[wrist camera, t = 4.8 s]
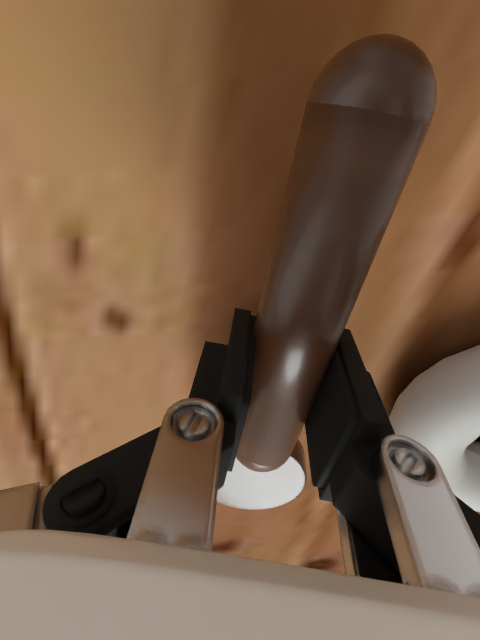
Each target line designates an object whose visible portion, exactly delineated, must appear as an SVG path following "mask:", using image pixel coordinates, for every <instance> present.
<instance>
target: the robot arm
mask: <svg viewBox="0 0 480 640" xmlns="http://www.w3.org/2000/svg"><path fill="white" fill-rule="evenodd" d="M255 321H256V316H252V315H251V311H249V310H243V309H238V308H235V313H234V318H233V323H232V329H231V334H230V339H229V344H228V345H224V344H219V343H213V342H208V341H206V342H205V345H204V348H203V351H202V355H201V358H200V361H199V365H198V368H197V372H196V375H195V378H194V382H193V385H192V388H191V392H190V395H189V398H187V399H182V400H180V401H178V402H176V403H174V404H173V405H172V406H171V407H169V408H168V410H167V412H166V414H165V415H164V418H163V421H162V425H161V426H160V427H158V428H156V429H154V430H152V431H150V432H148V433H146V434H144V435H142V436H140V437H138V438H136V439H134V440H132V441H130V442H128V443H126V444H124V445H122V446H120V447H118V448H116V449H114V450H112V451H110V452H108V453H105V454H103V455H101V456H99V457H97V458H95V459H93V460H91V461H89V462H87V463H85V464H83V465H81V466H79V467H77V468H75V469H73V470H71V471H70V472H68V473H67V474H65V475H63V476H62V477H61V478H60V479H59V480H58V481H57V482H56V483H54V484H50V485H45V486H40V484H39V482H37V483H32V484H28V485H23V486H18V487H13V488H9V489H4V490H0V640H480V515H479V514H478V513H477V512H476V511H474V510H473V509H472V508H471V507H469V506H468V505H467V504H465V503H464V502H463V501H462V500H460V499H459V498H458V497H457V496H455V495H454V493H453V491H452V489H451V487H450V485H449V483H448V481H447V479H446V476H445V474H444V472H443V470H442V468H441V466H440V464H439V463H438V461H437V459H436V458H435V456H434V455H433V454H432V453H431V452H430V451H429V450H428V449H427V448H426V447H424V446H423V445H422V444H420V443H419V442H417V441H415V440H413V439H412V438H409V437H406V436H403V435H396V434H395V432H394V430H393V427H392V425H391V422H390V420H389V418H388V415H387V413H386V410H385V408H384V406H383V403H382V401H381V398H380V396H379V393H378V391H377V389H376V386H375V384H374V381H373V379H372V377H371V375H370V373H369V372H367V371H366V369H365V366H364V364H363V361H362V359H361V356H360V354H359V351H358V349H357V346H356V344H355V341H354V339H353V336H352V334H351V331H350V330H349V329H344V331H343V333H342V335H341V338H340V340H339V343H338V345H337V347H336V350H335V352H334V354H333V357H332V359H331V362H330V364H329V366H328V369H327V371H326V373H325V376H324V378H323V381H322V383H321V385H320V388H319V390H318V392H317V395H316V397H315V400H314V402H313V404H312V407H311V409H310V411H309V414H308V416H307V419H306V421H305V428H306V436H307V445H308V453H309V461H310V469H311V477H312V483H313V486H315V487H318V491H319V498H320V500H326V501H331V502H333V505H334V506H335V507H336V508H337V509H338V526H339V533H340V540H341V547H342V554H343V562H344V569H345V574H341V573H335V572H329V571H323V570H317V569H312V568H306V567H300V566H294V565H288V564H282V563H276V562H270V561H264V560H258V559H252V558H246V557H239V556H233V555H227V554H221V553H215V552H212V542H213V532H214V522H215V512H216V502H217V491H218V489H220V488H221V487H223V486H224V483H225V479H226V475H227V471H230V472H232V469H233V466H234V462H235V458H236V454H237V451H238V447H239V443H240V440H241V436H242V432H243V428H244V425H245V421H246V417H247V414H248V410H249V406H250V401H251V394H252V382H253V366H254V350H255V337H254V333H253V330H254V325H255Z"/></svg>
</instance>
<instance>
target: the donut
mask: <svg viewBox="0 0 480 640" xmlns="http://www.w3.org/2000/svg"><path fill="white" fill-rule="evenodd" d="M389 420H390V422H391V425H392V427H393V430H394V432H395V434H396V435H403V436H406V437H409V438H412V439H413V440H415V441H417V442H419V443H420V444H422V445H423V446H424V447H426V448H427V449H428V450H429V451H430V452H431V453H432V454H433V455H434V456H435V458H436V459H437V461H438V463H439V464H440V466H441V468H442V470H443V472H444V474H445V476H446V479H447V481H448V483H449V485H450V487H451V489H452V491H453V493H454V495H455V496H457V497H458V498H459V499H460V500H462V501H463V502H464V503H465V504H467V505H468V506H469V507H471V508H472V509H473V510H474V511H479V512H480V441H478V442H473V441H474V440H475V439H477V438H478V437H479V436H480V345H478V346H475V347H473V348H470V349H468V350H465V351H462V352H460V353H457V354H454V355H452V356H449V357H447V358H444V359H442V360H441V361H439V362H438V363H436V364H435V365H433V366H432V367H430V368H429V369H427V370H426V371H424V372H423V373H421V374H420V375H418V376H417V377H415V379H414V380H413V381H412V382H411V383H410V384H409V385H408V386H407V387H406V389H405V390H404V391H403V392H402V393H401V394H400V395H399V396H398V397H397V400H396V402H395V405H394V407H393V409H392V412H391V414H390V417H389Z"/></svg>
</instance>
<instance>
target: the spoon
mask: <svg viewBox="0 0 480 640" xmlns="http://www.w3.org/2000/svg"><path fill="white" fill-rule="evenodd" d="M436 96H437V95H436V80H435V76H434V73H433V69H432V66H431V63H430V62H429V60H428V58H427V57H426V55H425V53H424V52H423V51H422V50H421V49H420V48H419V47H418V46H417V45H416V44H414V43H413V42H412V41H410V40H408V39H405V38H403V37H401V36H398V35H394V34H378V35H370V36H366V37H364V38H361V39H359V40H356V41H354V42H352V43H351V44H349V45H348V46H346V47H345V48H343V49H342V50H340V51H339V52H338V53H337V54H336V55H335V56H334V57H333V58H332V59H331V60H330V61H329V62H328V63H327V64H326V65H325V67H324V68H323V69H322V71H321V72H320V73H319V75H318V77H317V79H316V81H315V83H314V85H313V87H312V89H311V91H310V95H309V98H308V101H307V104H306V108H305V112H304V116H303V121H302V125H301V129H300V133H299V138H298V142H297V146H296V150H295V155H294V159H293V163H292V167H291V172H290V176H289V180H288V184H287V189H286V193H285V197H284V201H283V206H282V210H281V214H280V219H279V223H278V227H277V231H276V236H275V240H274V244H273V248H272V253H271V257H270V261H269V265H268V270H267V274H266V278H265V282H264V287H263V291H262V295H261V299H260V304H259V308H258V312H257V316H256V321H255V325H254V330H253V333H254V337H255V350H254V366H253V382H252V394H251V401H250V406H249V410H248V414H247V417H246V421H245V425H244V428H243V432H242V436H241V440H240V443H239V447H238V451H237V454H236V458H235V462H234V466H233V469H232V472H230V471H227V475H226V479H225V483H224V486H223V487H221V488H220V489H218V491H217V502H219V503H222V504H224V505H228V506H231V507H235V508H241V509H252V510H259V509H269V508H274V507H278V506H281V505H284V504H286V503H288V502H290V501H292V500H294V499H295V498H296V497H297V496H299V494H300V493H301V492H302V491H303V489H304V487H305V484H306V480H307V475H306V466H305V457H304V450H303V447H302V445H301V443H300V441H299V440H298V438H299V435H300V433H301V431H302V428H303V426H304V423H305V421H306V419H307V416H308V414H309V411H310V409H311V407H312V404H313V402H314V400H315V397H316V395H317V392H318V390H319V388H320V385H321V383H322V381H323V378H324V376H325V373H326V371H327V369H328V366H329V364H330V362H331V359H332V357H333V354H334V352H335V350H336V347H337V345H338V343H339V340H340V338H341V335H342V333H343V331H344V328H345V326H346V324H347V321H348V319H349V316H350V314H351V312H352V309H353V307H354V305H355V302H356V300H357V297H358V295H359V293H360V290H361V288H362V285H363V283H364V281H365V278H366V276H367V274H368V271H369V269H370V266H371V264H372V262H373V259H374V257H375V255H376V252H377V250H378V247H379V245H380V243H381V240H382V238H383V236H384V233H385V231H386V228H387V226H388V224H389V221H390V219H391V217H392V214H393V212H394V209H395V207H396V205H397V202H398V200H399V198H400V195H401V193H402V190H403V188H404V186H405V183H406V181H407V179H408V176H409V174H410V171H411V169H412V167H413V164H414V162H415V159H416V157H417V155H418V152H419V150H420V148H421V145H422V143H423V140H424V138H425V136H426V133H427V131H428V129H429V126H430V123H431V120H432V117H433V114H434V110H435V103H436Z"/></svg>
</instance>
